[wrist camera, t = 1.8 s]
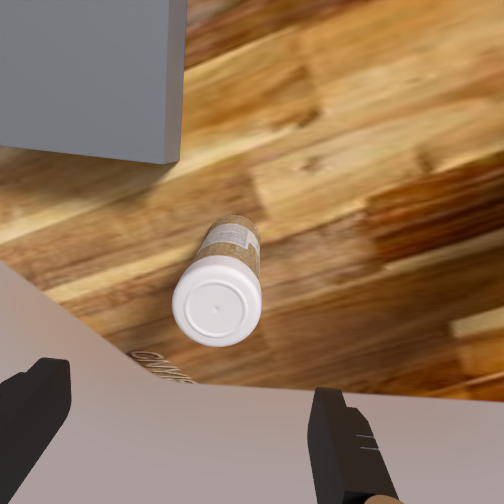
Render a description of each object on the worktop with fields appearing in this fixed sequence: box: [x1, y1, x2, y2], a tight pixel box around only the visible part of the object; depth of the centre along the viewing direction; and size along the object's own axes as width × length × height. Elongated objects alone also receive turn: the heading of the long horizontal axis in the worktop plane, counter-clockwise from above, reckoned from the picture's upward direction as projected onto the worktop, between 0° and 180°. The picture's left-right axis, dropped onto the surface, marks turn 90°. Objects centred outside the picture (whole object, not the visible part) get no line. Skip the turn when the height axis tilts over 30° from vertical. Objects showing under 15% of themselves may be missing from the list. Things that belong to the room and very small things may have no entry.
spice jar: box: [172, 215, 262, 347], centre depth 24 cm, size 5×5×14 cm
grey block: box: [0, 0, 187, 164], centre depth 24 cm, size 14×14×5 cm
